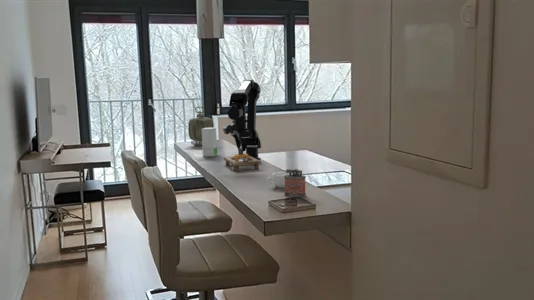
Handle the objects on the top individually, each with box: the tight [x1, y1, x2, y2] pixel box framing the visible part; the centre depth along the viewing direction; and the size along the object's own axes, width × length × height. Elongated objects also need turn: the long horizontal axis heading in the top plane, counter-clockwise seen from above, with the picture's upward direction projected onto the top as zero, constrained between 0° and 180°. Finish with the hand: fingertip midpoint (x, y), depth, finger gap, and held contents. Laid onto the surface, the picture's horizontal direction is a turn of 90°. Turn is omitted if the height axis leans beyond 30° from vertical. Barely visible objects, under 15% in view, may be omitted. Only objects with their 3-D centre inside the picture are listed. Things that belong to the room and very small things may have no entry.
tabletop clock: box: [187, 106, 215, 146], centre depth 323 cm, size 14×9×25 cm, turn 66°
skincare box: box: [201, 126, 218, 158], centre depth 283 cm, size 8×7×16 cm
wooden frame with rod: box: [223, 155, 261, 172], centre depth 247 cm, size 20×13×4 cm, turn 18°
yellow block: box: [233, 147, 250, 162], centre depth 246 cm, size 4×6×8 cm, turn 108°
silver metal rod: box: [234, 153, 248, 162], centre depth 246 cm, size 16×2×1 cm, turn 18°
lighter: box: [284, 168, 307, 198], centre depth 186 cm, size 8×3×10 cm, turn 71°
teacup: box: [267, 171, 293, 189], centre depth 201 cm, size 10×8×5 cm
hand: (241, 150), depth 246 cm, fingers open, 9 cm apart
